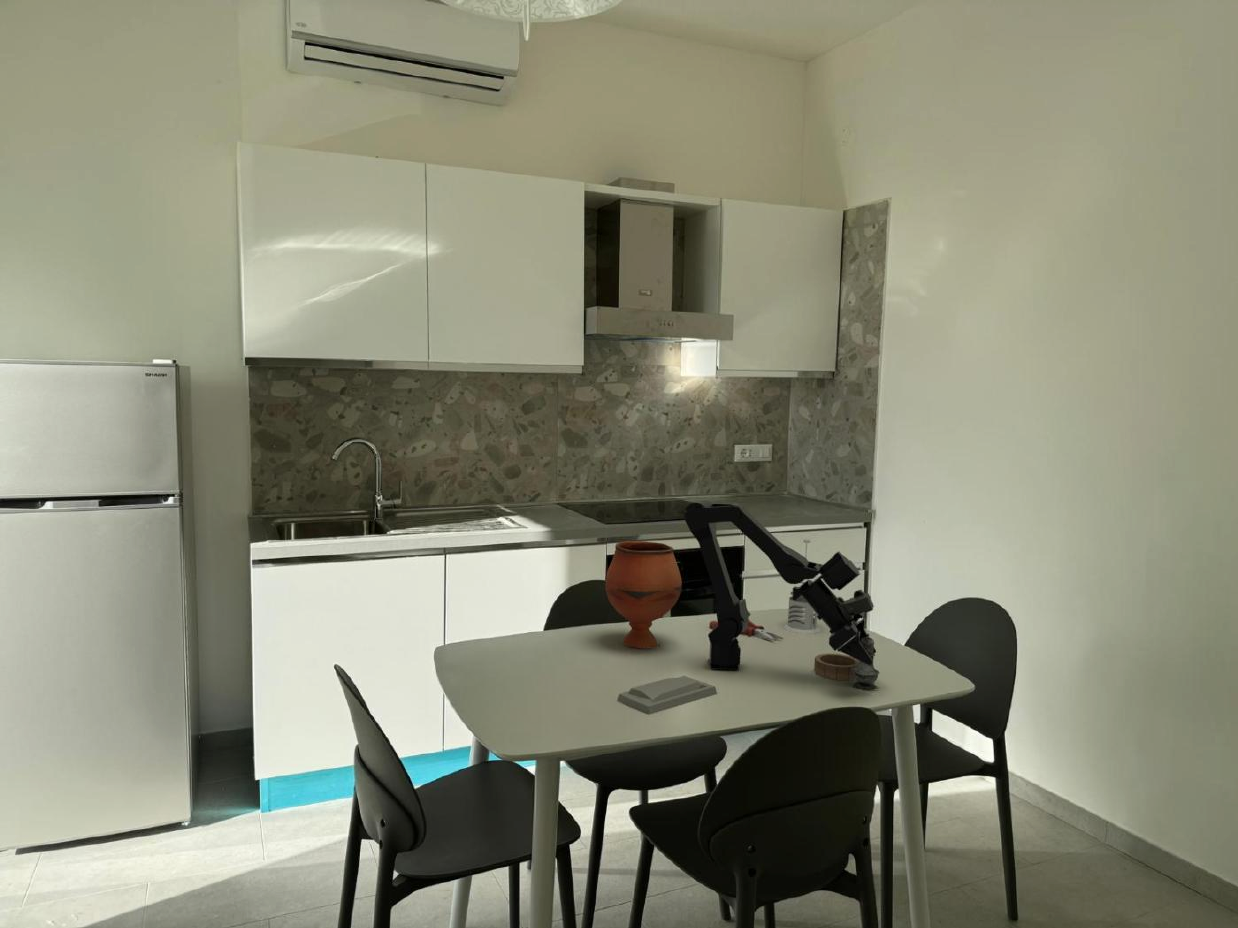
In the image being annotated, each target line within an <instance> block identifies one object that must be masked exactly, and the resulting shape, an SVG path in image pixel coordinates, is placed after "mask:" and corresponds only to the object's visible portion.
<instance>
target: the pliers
mask: <svg viewBox="0 0 1238 928" xmlns="http://www.w3.org/2000/svg"><path fill="white" fill-rule="evenodd" d="M717 625H718V621H715V620H711V621H710V622H709V625H708V626H709V628H710V629H711V630H713V629H714V628H715V627H716V626H717ZM740 635H743V636H748V637H749V638H752V637H756V638H760V639H762V640H767V641H773V642H776V641H777V640H784V637H782V636H779V635H778V634H775V633H772V632H770V631H768V630H765V627H764V626H763V625H756V624H755V623H753V622H752V621H751V620H749V623H748V625H747V627H746V628H745V630H744V631H743V632H742V633H741V634H740Z"/></svg>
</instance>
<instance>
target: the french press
mask: <svg viewBox="0 0 1238 928" xmlns="http://www.w3.org/2000/svg"><path fill="white" fill-rule="evenodd" d="M803 543H805V552H807V548H808V543H809V544H810V543H811V538H809V537H805V538H804V539H803ZM804 557H805V558H806V559H807V554H805V556H804ZM817 578H818V577H817V576H816V577H815V578H813V579H805V580H803V581H802V582H801V583H800V584H801V585H802V584H804V583H805V582H806V581H807V580H811V581H812V582H813V581H814V580H816V579H817ZM790 595H791V596H790V597H789V598H788V614H787V616H788V618H787V623H786V624H785V625H784V626H783V629H785V630H787V631H789V632H792V633H796V634H803V635H804V634H805V635H806V634H811V635H812V634H818V633H820V632H821V629H820V627H818V626H817V625H818V618H817V615H818V614H817V613H816V612H815V611H814V610H813V608H812V607H811V606H810V605H809V604H808V603H807V601H806V600H805V599H804V598H803V597H802V596H800V597H799V598H797V599H796V600H795V601H794V600H793V599H792V598H793V590H792V591H790ZM803 618H804V619H803Z"/></svg>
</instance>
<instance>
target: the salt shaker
mask: <svg viewBox="0 0 1238 928" xmlns="http://www.w3.org/2000/svg"><path fill="white" fill-rule="evenodd" d="M861 644H862V645H863V647H864V648H865V650H866V651H867V653H868V654H869V656H870V658H871V659H872V661H873V663H872V664H871V665H868V664H866V663H863V662H861V661H859V664H858V666H857V667H854V668H852V671H853V675H854V678H855V679H854V680H856V682H853V683H852V685H851V686H852V687H853V688H855V689H856V690H860V691H867V692H872V690H873V691H876V690H877V689H878V686H877V685H876V684H875V682H876V681H877V679H878V678H879V675H880V674H881V672H880V671H879V670H878V669H876V668H875V666H874V657H875V656H876V653H873V652H874V648H875V640H874V639H873V638H871V637H870V634H869V633H867V637H864V638H862V639H861ZM875 689H876V690H875Z"/></svg>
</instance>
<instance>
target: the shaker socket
mask: <svg viewBox="0 0 1238 928" xmlns="http://www.w3.org/2000/svg"><path fill="white" fill-rule="evenodd" d="M858 664H859V660H857V659H855V658H853V657H851V656H849V655H847V654H841V653H821V654H818V655H816V656H815V657H814V667H813V672H815V674H816V675H818V676H820V677H823V678H826V679H830V680H835V681H836V680H837V681H851V680H856V679H855V678H854V675H853V671H852V668H854V667H857V666H858Z"/></svg>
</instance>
